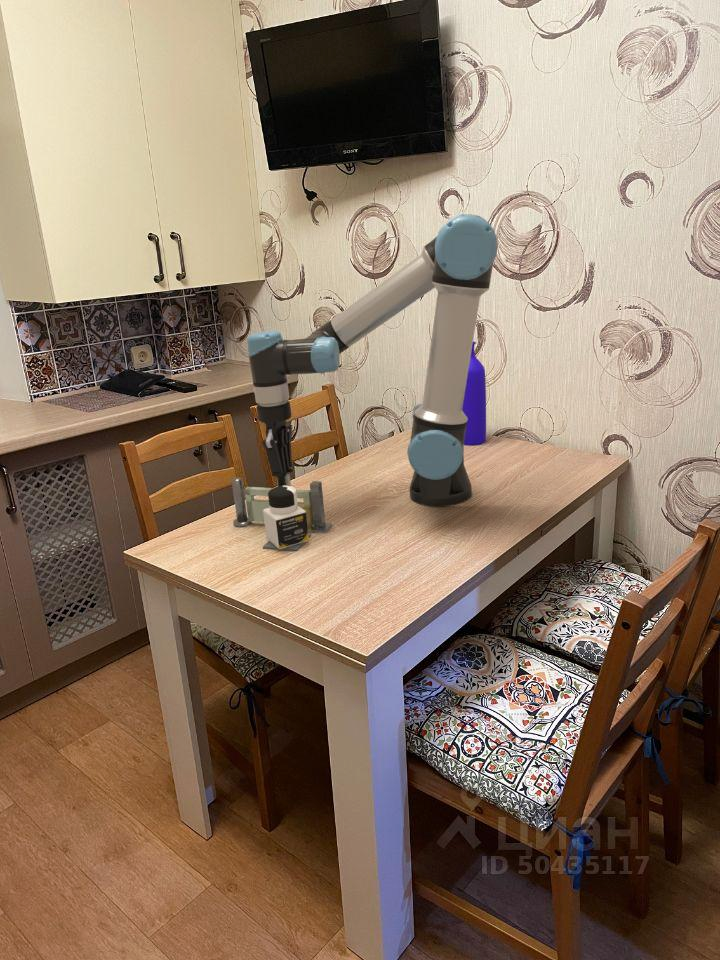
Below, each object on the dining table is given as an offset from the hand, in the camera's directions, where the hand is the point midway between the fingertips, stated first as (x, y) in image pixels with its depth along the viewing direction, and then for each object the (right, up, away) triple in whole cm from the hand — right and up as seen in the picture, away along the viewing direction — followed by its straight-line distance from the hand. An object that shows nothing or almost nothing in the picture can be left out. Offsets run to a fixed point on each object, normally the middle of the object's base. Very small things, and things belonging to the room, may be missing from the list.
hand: (286, 500), depth 165 cm
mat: (+1, -9, -11) cm, 14 cm away
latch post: (+8, -6, -6) cm, 12 cm away
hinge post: (-10, -5, 0) cm, 12 cm away
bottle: (+51, +16, +48) cm, 72 cm away
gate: (-1, -5, -3) cm, 6 cm away
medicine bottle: (+1, -8, -11) cm, 14 cm away
